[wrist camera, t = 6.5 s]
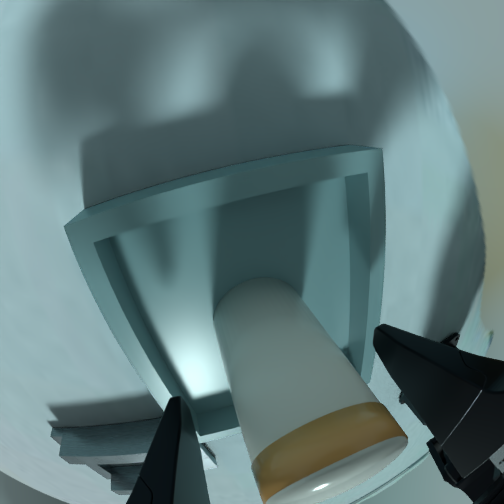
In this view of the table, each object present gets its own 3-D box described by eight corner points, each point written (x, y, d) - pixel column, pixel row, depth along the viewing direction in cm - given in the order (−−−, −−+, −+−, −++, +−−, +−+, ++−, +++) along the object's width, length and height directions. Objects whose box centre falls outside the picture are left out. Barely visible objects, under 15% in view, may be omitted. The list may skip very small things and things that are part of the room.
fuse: (297, 264, 12) (428, 412, 4) (304, 336, 13) (390, 468, 6) (200, 292, 11) (250, 494, 4) (224, 361, 13) (274, 517, 5)
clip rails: (179, 413, 14) (184, 447, 12) (215, 459, 18) (222, 484, 15) (52, 428, 13) (47, 455, 10) (107, 472, 16) (107, 494, 14)
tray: (349, 144, 11) (382, 148, 9) (352, 360, 16) (369, 382, 14) (83, 209, 9) (63, 226, 7) (186, 416, 14) (191, 444, 13)
